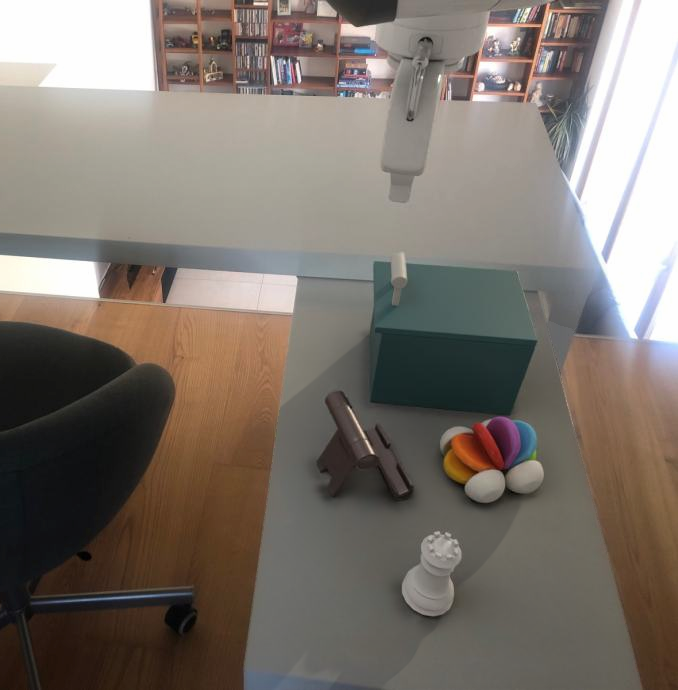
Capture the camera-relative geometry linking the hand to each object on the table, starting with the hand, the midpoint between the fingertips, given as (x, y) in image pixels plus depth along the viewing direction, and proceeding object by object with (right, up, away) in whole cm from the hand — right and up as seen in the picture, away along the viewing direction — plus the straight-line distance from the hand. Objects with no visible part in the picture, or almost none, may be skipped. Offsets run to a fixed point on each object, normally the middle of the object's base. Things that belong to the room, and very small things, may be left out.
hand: (405, 175), depth 66 cm
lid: (+8, -12, +11) cm, 18 cm away
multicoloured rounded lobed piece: (+10, -30, +6) cm, 32 cm away
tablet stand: (-3, -30, +6) cm, 31 cm away
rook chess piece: (+1, -39, -4) cm, 39 cm away
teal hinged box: (+8, -19, +18) cm, 28 cm away
